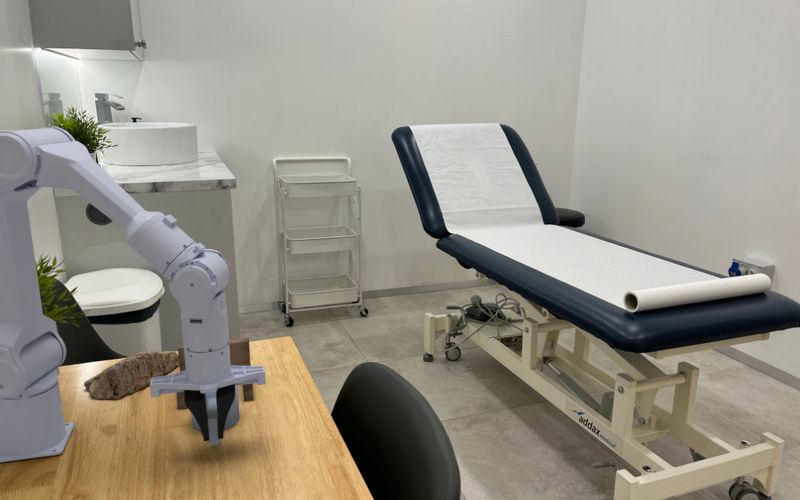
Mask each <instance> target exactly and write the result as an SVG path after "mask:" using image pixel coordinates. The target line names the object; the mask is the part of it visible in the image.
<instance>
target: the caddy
mask: <svg viewBox="0 0 800 500" xmlns="http://www.w3.org/2000/svg"><path fill="white" fill-rule="evenodd" d="M229 348H230V362H231V365H234V366H252V365H251V349H250V338H248V337H247V338H246V337H245V338H238V339H237V338H235V339H229ZM177 354H178V357H179V365H178V366H179V372H182V371H186V367H185V356H184V344H178V345H177ZM253 385H254V384H245V385H242V392H243V393H242V394H243V396H242V397H243V402H248V401H254V390H253V389H254V387H253ZM176 403H177V404H176V405H177V410H184V409H188V408H187V407H186V405H185V403H184V392H177V393H176Z"/></svg>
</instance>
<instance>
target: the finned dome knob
mask: <svg viewBox="0 0 800 500" xmlns="http://www.w3.org/2000/svg"><path fill="white" fill-rule="evenodd" d="M235 393H236V395H235V399H234V402H233V404H232V406H231V408H230V410H229V413H228V416H227V419H226V423H225V427H224V431H225V430H227V429H230V428H232V427H233V426H235V425H236V424H237V423H238V422H239V421H240V417H241V416H240V402H239V385H236V386H235ZM205 394H206V409H207V415H208V431H209V446H219V444H220V439H218V413H217V403H216V392H211V393H205ZM190 421H191V427H192V428H193V429H194V430H196V431H198V432H201V429H200V427H199V425H198V423H197V421H196V419H195V417H194V416H193V414H192V413H191V412H190Z"/></svg>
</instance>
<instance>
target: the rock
mask: <svg viewBox="0 0 800 500" xmlns="http://www.w3.org/2000/svg"><path fill="white" fill-rule="evenodd" d="M177 366H179V357H178V352H176V351H174V350H166V351H157V350H150V351H140V352H136V353H133V354H131V355H129V356H127V357H126V358H124V359H121V360H119V361H118V362H115V363H114V364H112V365H110V366H109V367H106V368H104V369H103V370H102V371H101V372H99V373H98V374H96V375H94V376H93V377H91V378H89V379H87V380H85V381H84V382H83V386H84V388H85V389H86V390H88V392H89V393H88V395H89V396H90V397H92V398H93V399H96V400H111V399H113V400H119V399H121V398H122V397H123V396H130V395H131V394H133V393H135V392H138V391H140V390H142V389H143V388H145V387H147V386H149V385H150V382H151V378H155V377H161V376H164V375H166V374H170V373H171V372H172V370H173V369H175V368H176V367H177Z"/></svg>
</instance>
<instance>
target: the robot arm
mask: <svg viewBox="0 0 800 500" xmlns="http://www.w3.org/2000/svg"><path fill="white" fill-rule="evenodd" d="M42 188H51V189H52V188H53V189H54V188H55V189H64V190H65V189H66V190H71V191H73V192H74V193H76V195H78V196H79V197H81V198H82V199H84V200H85V201H86V202H88V203H89V204H90V205H92V206H93V207H94V208H96V209H97V210H98V211H99V212H101V213H102V214H103V215H105V216H106V217H107V218H108V219H110V220H111V221H113V222H114V223H115V224H116V225H117V226H119V227H121V228H122V229H123V230H124V231H125V236H126V244H127V246H128V247H129V248H130V249H132V251H134V252H135V253H136V254H138V255H139V256H140V257H141V258H142V259H143V260H144V261H146V262H147V263H148V264H149V265H150V266H151V267H152V268H154V269H155V270H156V271H157V272H159V273H160V274H161V275H162V276H163V277H164V278H165V279H166V280H169V281H170V282H169V283H168V287H169V290H170V293H171V295H172V296H173V297H174V299H175V300H176V301H177V302H178V303H179V308H180V320H181V321H180V322H181V330H182V331H181V332H182V340H183V342H182V343H183V344H184V356H185V367H186V371H182V372H180V371H177V372H175V373H171V374H170V373H169V374H168V375H166V374H165V375H163V376H161V377H155V378H151V382H150V383H149V387H150V388H149V389H150V398H153V399H154V398H159V397H161V396H162V395H167V394H175V393H177V392H184V403H185V405H186V407H187V408H186V409H188V410H189V412H190V414H191V413H192V414H193V416H194V417H195V419H196V421H197V423H198V425H199V427H200V429H201V431H200V433H201V434H202V435H201V436H202V438H203V441H204V442H208V441H209V431H208V415H207V409H206V394H205V393H211V392H216V403H217V413H218V439H219V440H222V439H224V438H225V437H224V436H225V435H224V433H225V432H224V431H225V430H224V427H225V423H226V419H227V416H228V413H229V410H230V408H231V406H232V404H233V402H234V399H235V395H236V393H235V386H236V385H238V386H243V385H245V384H252V385H254V384H257V386H264V385H266V369H265V365H251V366H234V365H231V362H230V348H229V340H230V334H229V333H230V332H229V321H228V319H229V318H228V308H227V294H226V293H227V292H226V290H225V289H224V288H226V286H227V285H228V284H229V281H230V279H231V275H232V271H231V266H230V263H229V262H228V260H227V259H226V258H225V257H224V256H223V254H222V252H221V251H218V250H216V249H213V248H206V247H205V246H204V245H203V244H202V243H201V242H198V243H197V242H196V241H195V240H194V239H192V238H191V237H190V235H188V234H187V232H185V231H183V230H182V229H181V228H180V227H179V226H178V225H177V222H178V220H177V219H176V218H175V217H174V216H173V215H172V214H168V215H165V214H164V213H163V212H162V211H148V210H145V209H144V208H143V207H142V206H141V205H140V204H139V203H138V202H137V200H136V199H134V198H133V197H132V196H131V195H130V194H129V193H128V192H127V191H126V190H125V189H124V188H123V187H122V186H120V184H119V183H118V182H117V181H115V179H114V178H112V176H111V175H109V173H107V171H105V170H104V169H103V168H102V166H101V165H100V164H98V163H97V162H96V161H95V160H94V159H93V158H92V156H91V153H90V152H89V149H88V148H87V147H86V146H85V144H83V143H81V142H79V141H78V140H76V139H75V138H74V137H73V135H72V134H70V133H69V131H67V130H65V129H64V128H61V127H58V126H45V127H41V128H32V129H29V128H28V129H20V130H19V129H17V130H12V129H3V130H2V129H1V130H0V463H7V462H12V461H21V460H22V461H23V460H28V459H29V460H30V459H36V458H43V457H51V456H57V455H61V454H62V453H63V452H64V450H65V448H66V445H67V443H68V441H69V439H70V437H71V435H72V432H73V430H74V428H75V422H73V421H72V422H71V421H70V422H65V417H64V410H63V404H62V398H61V397H62V396H61V390H60V384H59V383H60V382H59V375H60V374H61V373H60V372H61V371H60V366H61V365H62V364H63V363H64V361H65V360H66V358H67V357H66V356H67V347H66V344H65V342H64V341H63V338H62V337H61V335H59V332H58V328H57V322H56V321H55V320H54V319H51V318H50V317H48V316H46V315H45V314H44V313H43V305H42V299H41V293H40V283H39V278H38V271H37V264H36V258H35V257H36V256H35V252H34V251H35V249H34V242H33V234H32V229H31V222H30V215H29V208H28V201H29V200H30V199H31V198H32V197H33V196H34V195H35V194H36V193H38V191H39V190H41V189H42Z"/></svg>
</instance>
